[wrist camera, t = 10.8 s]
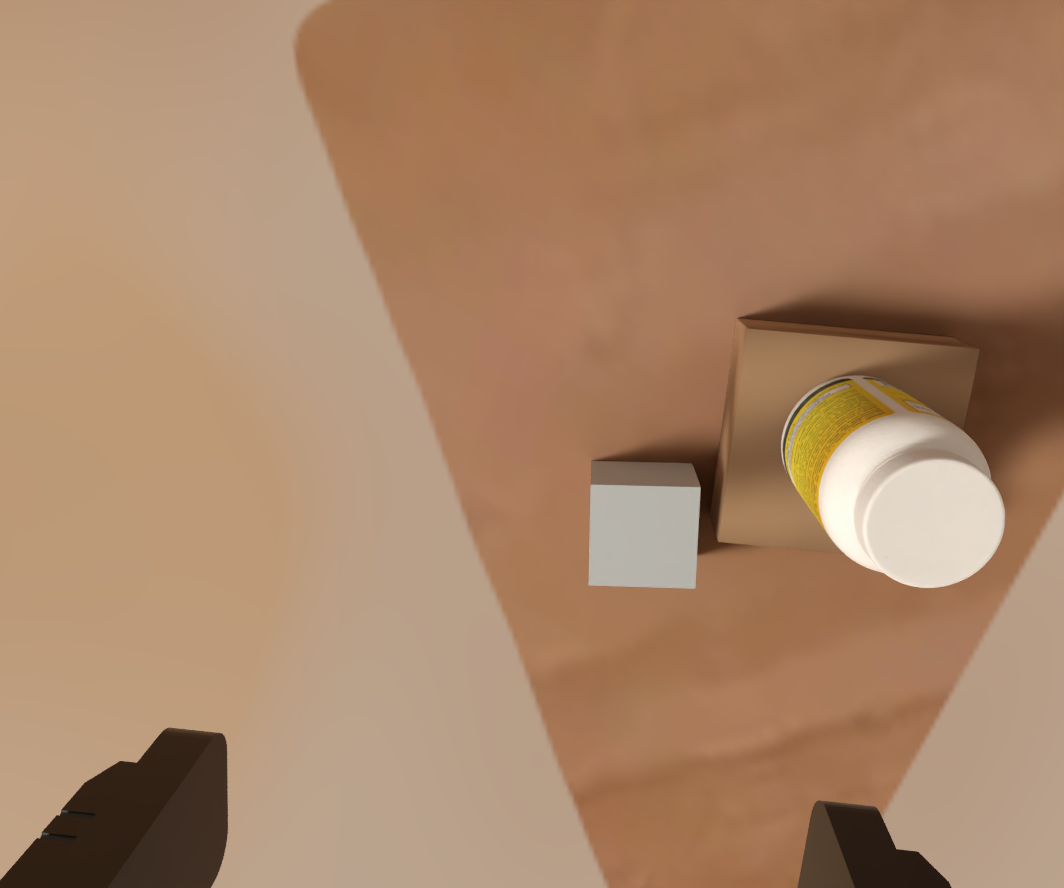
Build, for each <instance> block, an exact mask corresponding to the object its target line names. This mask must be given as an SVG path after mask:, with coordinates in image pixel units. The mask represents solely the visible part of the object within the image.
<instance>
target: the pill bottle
mask: <svg viewBox="0 0 1064 888" xmlns="http://www.w3.org/2000/svg"><path fill="white" fill-rule="evenodd" d="M781 454H782V460H783V464H784V467H785V470H786V472H787V475H788V476H789V478H790V480H791V482H792V484H793V486H794V487H795V489H796V490H797V491H798V492H799V494H800V495H801V497H802V498H803V500H804V501H805V502H806V504H807V505H808V507H809V508H810V510H811V511H812V513H813V514H814V515H815V517H816V518H817V520H818V521H819V523H820V524H821V525H822V527H823V528H824V530H825V531H826V533H827V534H828V536H829V537H830V538H831V540H832V541H833V542H834V543H835V545H836V546H837V547H838V548H839V549H840V550H841V551H842V552H843V553H844V554H845V555H847V556H848V557H849V558H851V559H852V560H853V561H855V562H857V563H858V564H860V565H862V566H864V567H867V568H869V569H872V570H875V571H878V572H882V573H885V574H886V575H887V576H889V577H891V578H892V579H894V580H896V581H898V582H901V583H903V584H906V585H909V586H914V587H921V588H936V587H943V586H948V585H951V584H954V583H957V582H959V581H962V580H964V579H966V578H968V577H970V576H971V575H973V574H974V573H976V572H977V571H978V570H980V569H981V568H982V567H983V566H984V565H985V564H986V563H987V562H988V561H989V559H990V558H991V557H992V556H993V554H994V553H995V551H996V550H997V548H998V546H999V543H1000V541H1001V539H1002V535H1003V532H1004V527H1005V508H1004V504H1003V500H1002V497H1001V495H1000V492H999V491H998V489H997V487H996V485H995V484H994V483H993V481H992V480H991V474H990V470H989V467H988V464H987V461H986V459H985V457H984V455H983V454H982V452H981V450H980V449H979V447H978V446H977V444H976V443H975V442H974V441H973V440H972V439H971V438H970V437H969V436H968V435H967V434H966V433H965V432H964V431H962V430H961V429H960V428H959V427H957V426H956V425H955V424H953V423H952V422H950V421H948V420H947V419H945V418H944V417H942V416H941V415H939V414H938V413H936V412H935V411H933V410H932V409H930V408H929V407H927V406H926V405H924V404H922V403H921V402H919V401H918V400H916V399H915V398H913V397H911V396H910V395H908V394H906V393H905V392H903V391H902V390H900V389H899V388H897V387H895V386H893V385H891V384H889V383H887V382H885V381H883V380H880V379H877V378H873V377H868V376H857V375H854V376H844V377H839V378H835V379H832V380H829V381H826V382H824V383H822V384H820V385H818V386H816V387H815V388H813V389H812V390H810V391H809V392H808V393H807V394H805V395H804V396H803V397H802V398H801V399H800V401H799V402H798V403H797V404H796V405H795V407H794V408H793V410H792V411H791V413H790V415H789V416H788V419H787V421H786V423H785V426H784V430H783V434H782V440H781Z"/></svg>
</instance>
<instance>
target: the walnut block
mask: <svg viewBox="0 0 1064 888" xmlns="http://www.w3.org/2000/svg"><path fill="white" fill-rule="evenodd" d="M979 353H980V349H979V348H976V347H974V346H972V345H969V344H967V343H964V342H962V341H960V340H957V339H955V338H952V337H946V336H935V335H923V334H912V333H900V332H889V331H877V330H866V329H855V328H843V327H832V326H820V325H809V324H797V323H786V322H774V321H763V320H751V319H740V318H737V320H736V328H735V335H734V342H733V350H732V357H731V364H730V372H729V379H728V386H727V393H726V401H725V408H724V415H723V423H722V430H721V437H720V445H719V452H718V459H717V466H716V474H715V481H714V488H713V496H712V503H711V510H710V519H711V522H712V525H713V528H714V531H715V534H716V537H717V540H718V542H725V543H735V544H745V545H755V546H766V547H776V548H786V549H796V550H806V551H817V552H827V553H837V554H844V553H843V552H842V551H841V550H840V549H839V548H838V547H837V546H836V545H835V543H834V542H833V541H832V540H831V538H830V537H829V536H828V534H827V533H826V531H825V530H824V528H823V527H822V525H821V524H820V523H819V521H818V520H817V518H816V517H815V515H814V514H813V513H812V511H811V510H810V508H809V507H808V505H807V504H806V502H805V501H804V500H803V498H802V497H801V495H800V494H799V492H798V491H797V490H796V489H795V487H794V486H793V484H792V482H791V480H790V478H789V476H788V475H787V472H786V470H785V467H784V464H783V460H782V454H781V440H782V434H783V430H784V426H785V423H786V421H787V419H788V416H789V415H790V413H791V411H792V410H793V408H794V407H795V405H796V404H797V403H798V402H799V401H800V399H801V398H802V397H803V396H804V395H805V394H807V393H808V392H809V391H810V390H812V389H813V388H815V387H816V386H818V385H820V384H822V383H824V382H826V381H829V380H832V379H835V378H839V377H844V376H854V375H857V376H868V377H873V378H877V379H880V380H883V381H885V382H887V383H889V384H891V385H893V386H895V387H897V388H899V389H900V390H902V391H903V392H905V393H906V394H908V395H910V396H911V397H913V398H915V399H916V400H918V401H919V402H921V403H922V404H924V405H926V406H927V407H929V408H930V409H932V410H933V411H935V412H936V413H938V414H939V415H941V416H942V417H944V418H945V419H947V420H948V421H950V422H952V423H953V424H955V425H956V426H957V427H959V428H960V429H961V430H962V431H963V430H964V425H965V420H966V415H967V411H968V406H969V401H970V396H971V391H972V386H973V382H974V377H975V372H976V367H977V362H978V358H979Z"/></svg>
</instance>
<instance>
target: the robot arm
mask: <svg viewBox="0 0 1064 888" xmlns="http://www.w3.org/2000/svg"><path fill="white" fill-rule="evenodd" d="M227 831H228V804H227V744H226V740H225V737H224V735H223V734H222V733H213V732H204V731H195V730H186V729H176V728H167V729H165V730H164V731H163V732H162V733H161V734H160V735H159V736H158V737H157V739H156V740H155V741H154V742H153V744H152V745H151V746H150V748H149V749H148V750H147V751H146V752H145V754H144V755H143V756H142V757H141V759H140V760H139V761H138V762H137V763H133V762H124V761H120V762H118V763H117V764H115V765H113V766H111V767H110V768H108V769H106V770H105V771H103V772H102V773H100V774H98V775H97V776H95V777H94V778H92V779H90V780H89V781H87V782H85V783H84V784H83V786H82V787H81V788H80V789H79V790H78V791H77V792H76V794H75V795H74V796H73V797H72V798H71V800H70V801H69V802H68V803H67V804H66V805H65V806H64V808H63V809H62V810H61V814H60V816H58V815H57V816H56V817H55V818H54V819H53V820H52V821H51V823H50V824H49V825H48V826H47V827H46V828H45V829H44V831H43V832H42V836H41V838H40V839H39V838H37V839H36V840H35V841H34V842H33V843H32V844H31V846H30V847H29V848H28V849H27V850H26V851H25V852H24V854H23V855H22V856H21V857H20V858H19V859H18V861H17V862H16V863H15V864H14V865H13V866H12V868H11V869H10V870H9V871H8V872H7V873H6V874H5V876H4V877H3V878H2V879H1V880H0V888H211V886H212V885H213V883H214V881H215V879H216V877H217V875H218V872H219V869H220V866H221V864H222V860H223V856H224V852H225V847H226V841H227V833H228V832H227ZM798 888H951V886H950V884H949V882H948V881H947V880H946V879H945V878H944V877H943V876H942V875H941V874H940V873H939V872H938V871H937V870H936V869H935V868H934V867H933V866H932V865H931V864H930V863H929V862H928V861H927V860H926V859H925V858H924V857H923V856H922V855H921V854H920V853H919V852H915V851H906V850H897V849H896V848H895V845H894V843H893V841H892V839H891V836H890V834H889V832H888V830H887V827H886V825H885V823H884V821H883V819H882V816H881V814H880V812H879V811H878V809H877V808H876V807H873V806H864V805H855V804H846V803H837V802H828V801H817V802H816V803H815V805H814V807H813V810H812V813H811V818H810V823H809V829H808V834H807V840H806V845H805V851H804V856H803V862H802V867H801V872H800V878H799V883H798Z"/></svg>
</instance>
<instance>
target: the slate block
mask: <svg viewBox="0 0 1064 888" xmlns="http://www.w3.org/2000/svg"><path fill="white" fill-rule="evenodd" d="M700 491H701V487H700V484H699V481H698V478H697V475H696V472H695V469H694V467H693V464H692V463H660V462H617V461H591V497H590V543H589V585H595V586H628V587H660V588H692V589H695V583H696V565H697V546H698V528H699V509H700Z"/></svg>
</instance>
